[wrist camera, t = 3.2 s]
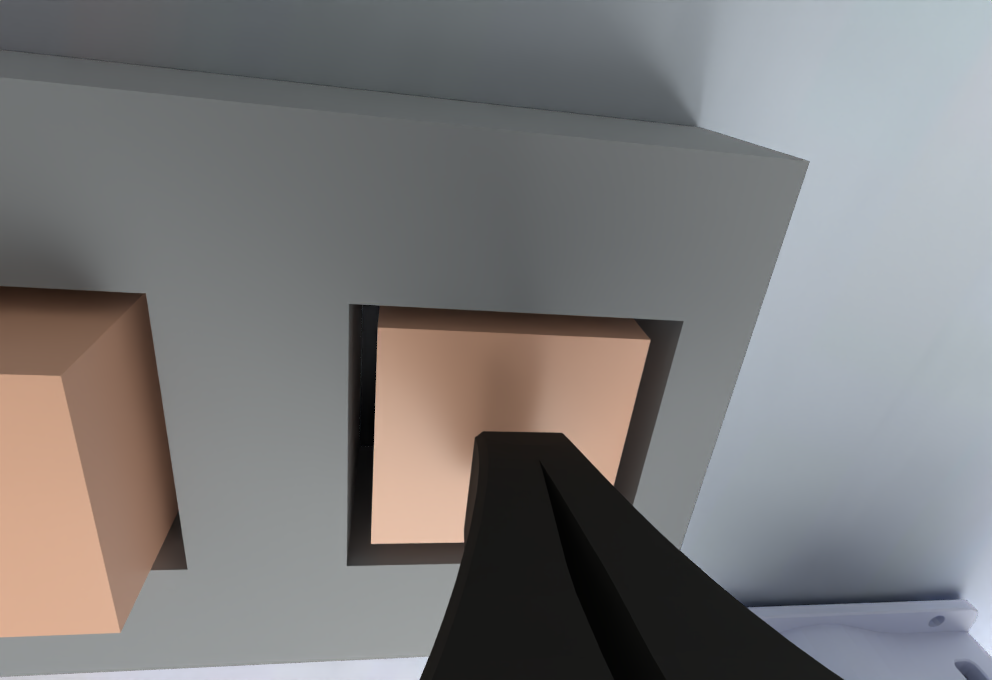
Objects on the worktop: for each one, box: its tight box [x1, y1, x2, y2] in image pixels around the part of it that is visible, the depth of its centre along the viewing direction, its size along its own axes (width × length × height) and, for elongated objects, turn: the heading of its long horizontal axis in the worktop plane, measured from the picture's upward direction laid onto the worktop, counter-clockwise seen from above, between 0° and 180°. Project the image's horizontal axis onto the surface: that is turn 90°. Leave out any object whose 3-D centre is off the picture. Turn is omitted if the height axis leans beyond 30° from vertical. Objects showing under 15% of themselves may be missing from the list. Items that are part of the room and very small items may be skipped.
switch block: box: [0, 50, 810, 677], centre depth 11 cm, size 15×10×4 cm, turn 83°
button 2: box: [371, 305, 650, 544], centre depth 11 cm, size 4×4×3 cm
